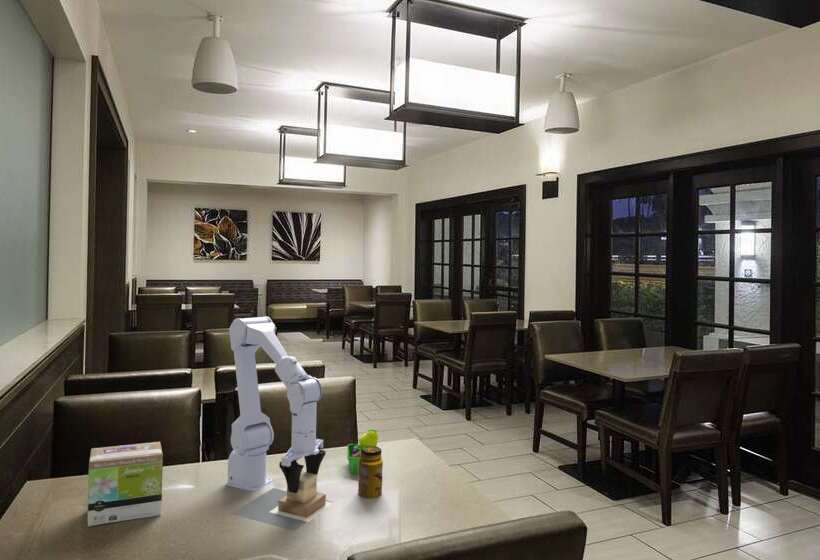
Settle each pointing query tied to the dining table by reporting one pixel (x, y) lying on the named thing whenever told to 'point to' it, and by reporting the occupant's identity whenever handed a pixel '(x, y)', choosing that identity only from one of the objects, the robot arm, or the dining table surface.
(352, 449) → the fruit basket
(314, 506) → the walnut base
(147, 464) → the tea box
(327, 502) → the mat
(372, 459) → the condiment
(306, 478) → the maple cube
